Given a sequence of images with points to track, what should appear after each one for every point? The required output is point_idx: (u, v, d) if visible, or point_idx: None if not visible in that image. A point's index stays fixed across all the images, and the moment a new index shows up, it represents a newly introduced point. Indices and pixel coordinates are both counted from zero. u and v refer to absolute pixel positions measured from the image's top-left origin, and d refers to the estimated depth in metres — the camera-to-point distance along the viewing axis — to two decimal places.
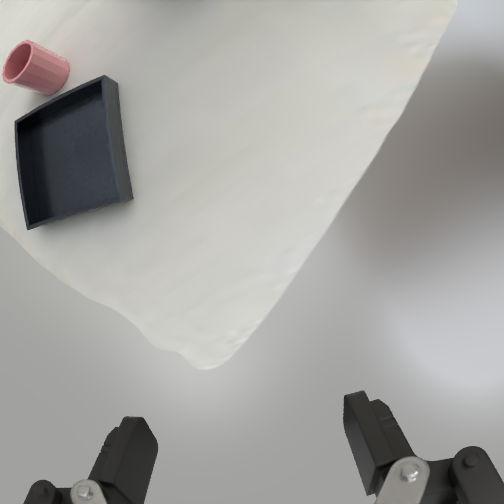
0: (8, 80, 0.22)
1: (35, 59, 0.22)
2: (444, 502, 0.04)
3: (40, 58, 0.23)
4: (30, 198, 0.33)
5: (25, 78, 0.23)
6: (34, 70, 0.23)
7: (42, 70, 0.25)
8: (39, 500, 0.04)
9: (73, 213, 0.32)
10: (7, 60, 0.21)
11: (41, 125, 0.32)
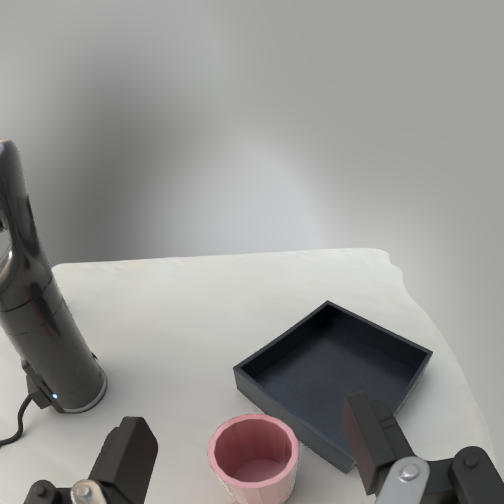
0: (293, 441, 0.17)
1: None
2: (444, 502, 0.04)
3: None
4: None
5: None
6: None
7: None
8: (39, 500, 0.04)
9: (370, 322, 0.35)
10: (258, 483, 0.14)
11: None
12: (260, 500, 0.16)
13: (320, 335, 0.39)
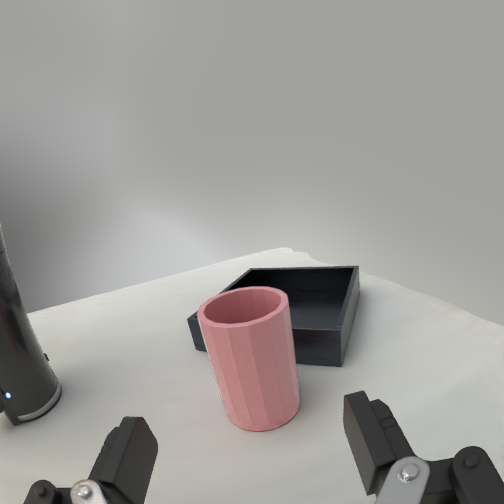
0: (274, 290, 0.22)
1: None
2: (444, 502, 0.04)
3: None
4: None
5: None
6: None
7: None
8: (39, 500, 0.04)
9: None
10: None
11: None
12: (275, 375, 0.18)
13: None
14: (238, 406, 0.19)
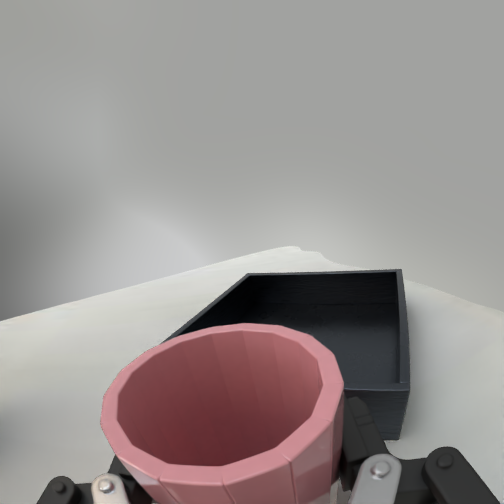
0: (299, 337, 0.08)
1: None
2: (422, 502, 0.05)
3: None
4: None
5: None
6: None
7: None
8: (56, 496, 0.05)
9: (309, 272, 0.30)
10: (279, 451, 0.05)
11: None
12: None
13: (253, 314, 0.31)
14: None
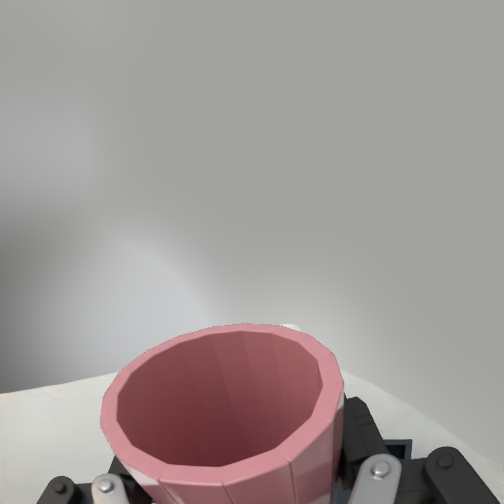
0: (299, 338, 0.08)
1: None
2: (422, 502, 0.05)
3: None
4: None
5: None
6: None
7: None
8: (56, 496, 0.05)
9: None
10: (279, 452, 0.04)
11: None
12: None
13: None
14: None
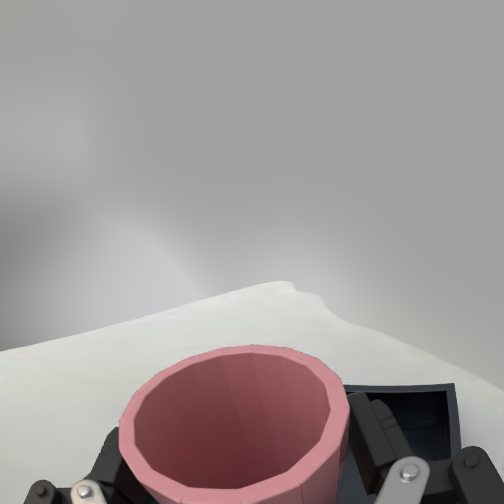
0: (307, 361, 0.08)
1: None
2: (444, 502, 0.04)
3: None
4: None
5: None
6: None
7: None
8: (39, 500, 0.04)
9: None
10: (291, 474, 0.05)
11: None
12: None
13: None
14: None
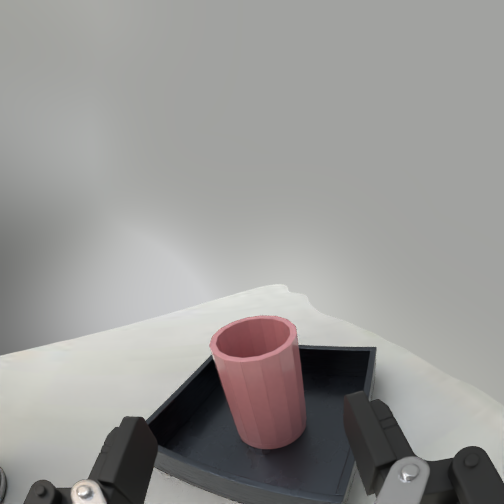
0: (283, 320, 0.22)
1: None
2: (444, 502, 0.04)
3: None
4: None
5: None
6: None
7: None
8: (39, 500, 0.04)
9: None
10: (275, 351, 0.18)
11: None
12: (284, 401, 0.19)
13: None
14: (249, 428, 0.20)
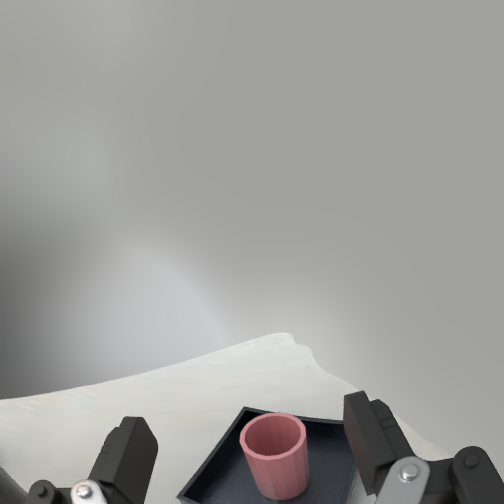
0: (295, 419, 0.25)
1: None
2: (444, 502, 0.04)
3: None
4: None
5: None
6: None
7: None
8: (39, 500, 0.04)
9: None
10: (290, 451, 0.21)
11: None
12: (294, 475, 0.22)
13: None
14: (267, 489, 0.23)
